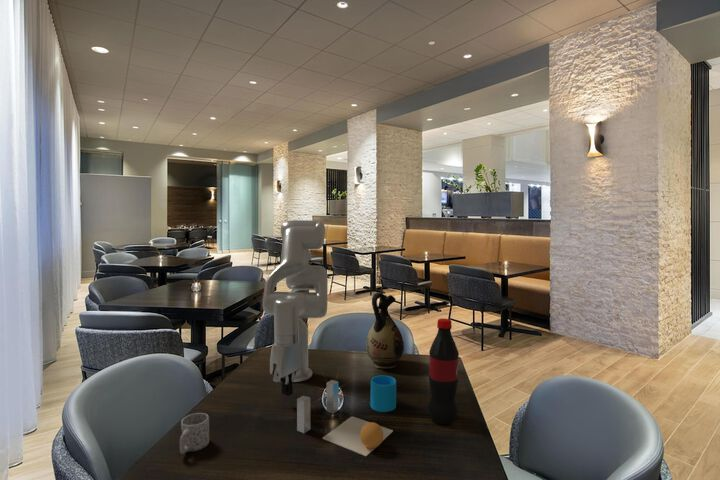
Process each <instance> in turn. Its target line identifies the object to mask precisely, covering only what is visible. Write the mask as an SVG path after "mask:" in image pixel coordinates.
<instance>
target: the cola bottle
mask: <svg viewBox="0 0 720 480" xmlns="http://www.w3.org/2000/svg"><path fill="white" fill-rule="evenodd" d="M452 325H453V324H452V320H451V319H450V318H449V319H448V318H444V317H443V318H438V319H437V327H436V328H437V329H438V330H437V332H436V336H435V338H434V339H433V341H432V344H431V347H430V349H429V352H428V353H429V374H428V375H429V376H428V380H429V388H430V389H429V390H430V393H431V394H430V400H429V402H428V405H427V406H428V407H427V408H428V415H429V416H430V417H429V418H430V419H431V420H432V421H433V422H434V423H437V424H439V425H450V424H452V423H454V422H455V421H456V420H457V416H458V413H459V411H458V408H459V407H458V405H457V402H456V395H457V390H458V389H457V388H458V384H459V375H458V374H459V350H458V347H457V345H456V342H455V340H454V338H453V336H452V332H451V329H452V328H453V327H452Z"/></svg>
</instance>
